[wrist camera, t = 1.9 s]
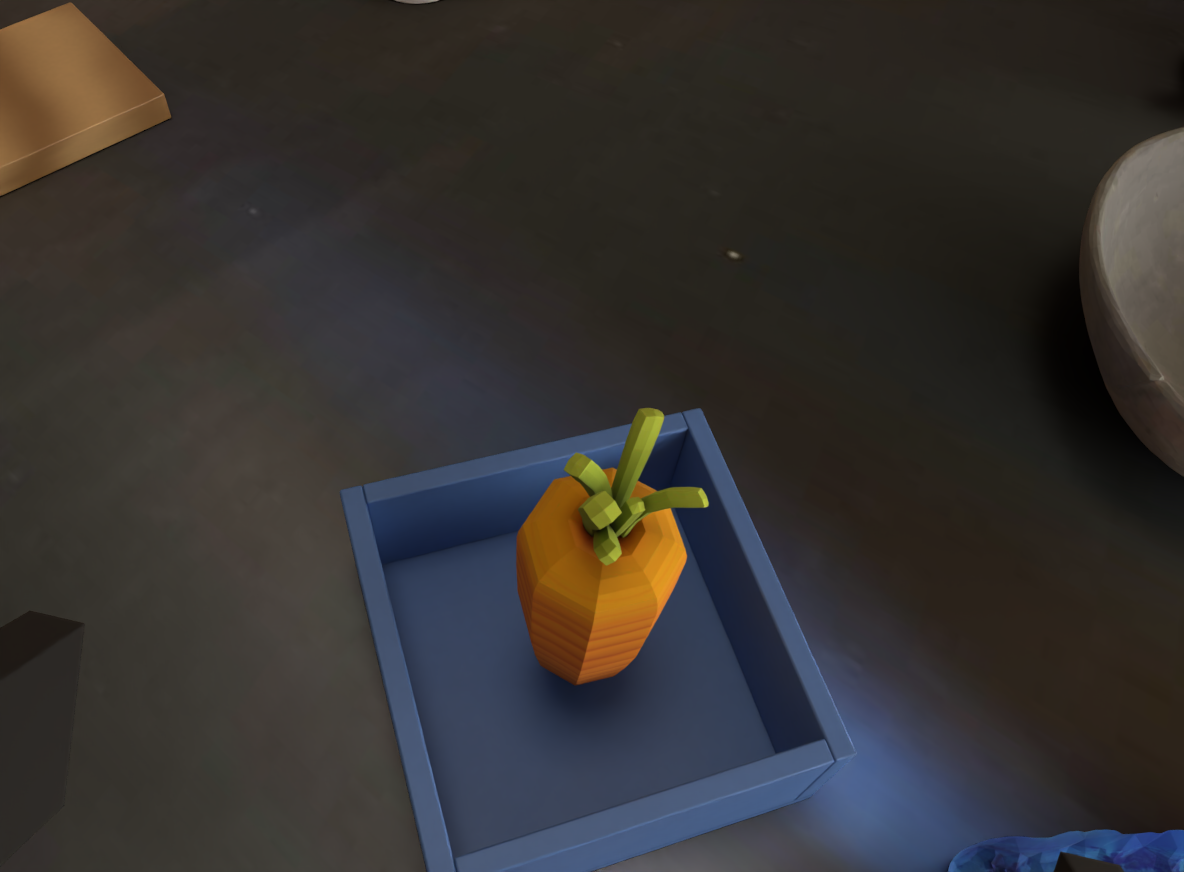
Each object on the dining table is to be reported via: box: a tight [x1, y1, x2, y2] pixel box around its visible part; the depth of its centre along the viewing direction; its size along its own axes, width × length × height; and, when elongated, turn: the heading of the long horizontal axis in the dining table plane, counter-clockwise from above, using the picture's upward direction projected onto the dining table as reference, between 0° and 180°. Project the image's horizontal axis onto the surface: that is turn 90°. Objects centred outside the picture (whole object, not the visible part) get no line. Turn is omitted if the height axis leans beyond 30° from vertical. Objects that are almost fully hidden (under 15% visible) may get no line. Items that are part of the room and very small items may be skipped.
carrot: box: [516, 408, 709, 686], centre depth 32 cm, size 5×5×15 cm
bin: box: [340, 408, 856, 872], centre depth 37 cm, size 14×14×6 cm
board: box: [0, 2, 171, 196], centre depth 51 cm, size 12×9×2 cm
